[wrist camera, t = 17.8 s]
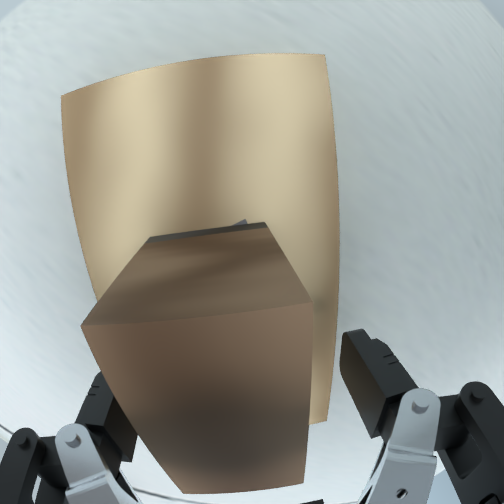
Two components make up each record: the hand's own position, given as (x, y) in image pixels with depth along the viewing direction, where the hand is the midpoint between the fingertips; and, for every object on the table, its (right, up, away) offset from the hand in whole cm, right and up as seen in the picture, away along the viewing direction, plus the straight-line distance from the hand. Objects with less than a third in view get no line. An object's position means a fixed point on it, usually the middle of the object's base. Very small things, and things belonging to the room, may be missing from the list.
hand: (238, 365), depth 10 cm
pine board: (-1, +2, +5) cm, 6 cm away
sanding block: (-1, +1, +3) cm, 4 cm away
